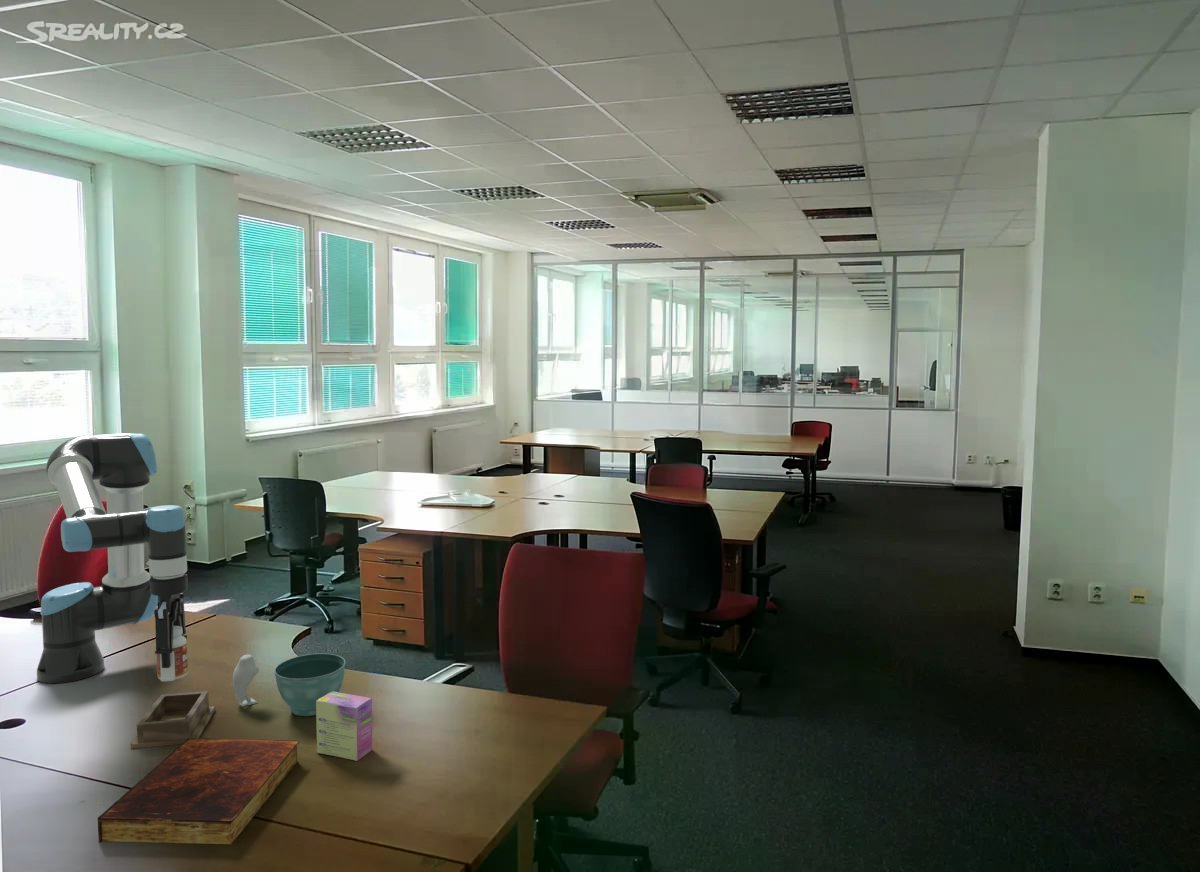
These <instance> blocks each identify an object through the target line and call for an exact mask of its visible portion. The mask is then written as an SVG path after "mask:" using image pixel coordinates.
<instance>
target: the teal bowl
mask: <svg viewBox="0 0 1200 872" xmlns="http://www.w3.org/2000/svg"><path fill="white" fill-rule="evenodd" d="M345 668H346V659H345V658H344V657H342V656H341V655H337V654H334V653H325V652H324V653H323V652H320V653H310V654H309V653H308V654H302V655H299V656H295V657H292V658H289V659H285V660H284V661H282V662H280V663H279V664H277V665H276V667H275V668H274V670H273V671H274V677H275V681H276V687H277V690H278V692H279V695H280V696H281V698H282V701H284V703H285V704H286V705H287V706H288V707H289V708H290V711H291V713H292V714H294V715H295V716H299V717H300V716H301V717H311V716H312V717H313V716H316V701H317V700H318V699H320V698H321V697H323V696H325V695H326V694H328V693H330V692H332V691H334V692H339V693H340V691H341V688H342V685H343V683H344V678H345V677H344V676H345Z"/></svg>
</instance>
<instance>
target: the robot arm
mask: <svg viewBox="0 0 1200 872" xmlns="http://www.w3.org/2000/svg"><path fill="white" fill-rule="evenodd" d="M157 466H158V465H157V459H156V454H155V451H154V446H153V443H152V441H151V439H150V438H149V436H148V435H147V434H144V433H130V432H127V433H112V434H111V433H110V434H95V435H88V434H87V435H80V436H75V437H72V438H69V439H68V440H65V441H64V442H62V443H61V444H60V445H59V446H57V447H56V448H55V449H54V450H53V451H52V452H51V454H50V455H49V457H48V460H47V462H46V465H45V467H46V469H45V471H46V474H47V475H46V476H47V478H48V480H49V482H50V484H51V485H53V486H54V487H56V489H57V493H58V496H59V498H60V502H61V504H62V509H63V510H64V514H65V516H66V518H65V519H63V520H62V521H61V523H60V537H61V538H60V539H61V544H62V547H63V550H64V551H65V552H68V553H72V552H73V553H74V552H75V553H76V552H88V551H93V550H101V549H107V565H108V566H107V567H108V568H107V573H106V574H105V575H104V576H103V577H102V578H101V585H100V586H95V587H94V585H93V584H92V583H91V582H89V581H82V582H76V583H75V582H73V583H70V584H65V585H62V586H58V587H56V588H54V589H51V590H49V591H47V592H45V594H43V596H42V598H41V600H40V602H41V605H40V615H41V624H42V625H41V627H42V628H41V629H42V644H43V646H42V648H43V649H42V652H41V656H40V658H39V662H38V666H37V668H36V679H37V681H38V682H41V683H44V684H62V683H63V684H64V683H70V682H75V681H80V680H83V679H87V678H90V677H92V676H95V675H97V674H100V672H102V671H103V670H104V669H105V660H104V659H105V658H104V656H103V654H102V652H101V650H100V648H99V646H98V643H97V641H96V631H100V630H106V629H111V628H116V627H118V628H119V627H123V626H124V627H125V626H129V625H137V624H139V623H143V622H146V621H150V620H151V619H152V618H153V617H154V621H155V623H154V624H155V627H154V628H155V651H154V654H155V655H156V654H160V669H161V680H160V682H172V681H176V680H175V661H174V651H172V646H173V626H181V627H182V630H183V633H182V636H184V637H185V638H186V640H188V634H187V635H186V633H187V630H186V616H185V615H186V614H185V594H184V592H186V591H187V590H188V588H189V586H188V585H189V584H188V574H187V571H188V557H187V543H186V541H187V539H186V538H187V537H186V522H187V521H186V520H187V519H186V517H185V509H184V508H183V507H182V506H181V505H174V504H173V505H172V504H170V505H169V504H168V505H167V504H165V505H157V506H153V507H152V506H151V507H146V508H144V490H145V488H146V487H147V486H148V485H149V484H150V477H153V476H155V475H156V474H157V473H158V472H157V469H158V467H157ZM94 480H99V482H98V483H99V486H100V487H101V488H103V489H104V490H105V491H106V509H105V507H104V504H103V501H102V500H101V497H100V495H99V492H98V490H97V487H96V485H95V482H94ZM145 544H147V547H148V548H147V550H148V551H147V552H148V561H146V565H147V566H149V567H148V568H149V569H148V570H149V572H148V571H147V570H145ZM158 600H159V601H158Z"/></svg>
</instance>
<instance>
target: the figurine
mask: <svg viewBox="0 0 1200 872" xmlns="http://www.w3.org/2000/svg"><path fill="white" fill-rule="evenodd" d="M259 672H260V668H259V666H258V665H257V663H256V660H255V658H254V657H253V655H251V654H244V655H241V657H240V658H239V661H238V663H237V665H236V666H235V668H234V670H233V674H232V688H233V693H234V695H235V696H234V697H235V698H236V701H237V702H238V705H239V706H241V707H242V708H243V707H247V706H250V705H255V704H258V701H257V700H255V698H252V697H251V696H250V695H249V694H248V689H249V686H250V684H251V682H252V681H253V679H254V678H255V676H256V675H257V674H258V673H259Z"/></svg>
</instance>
